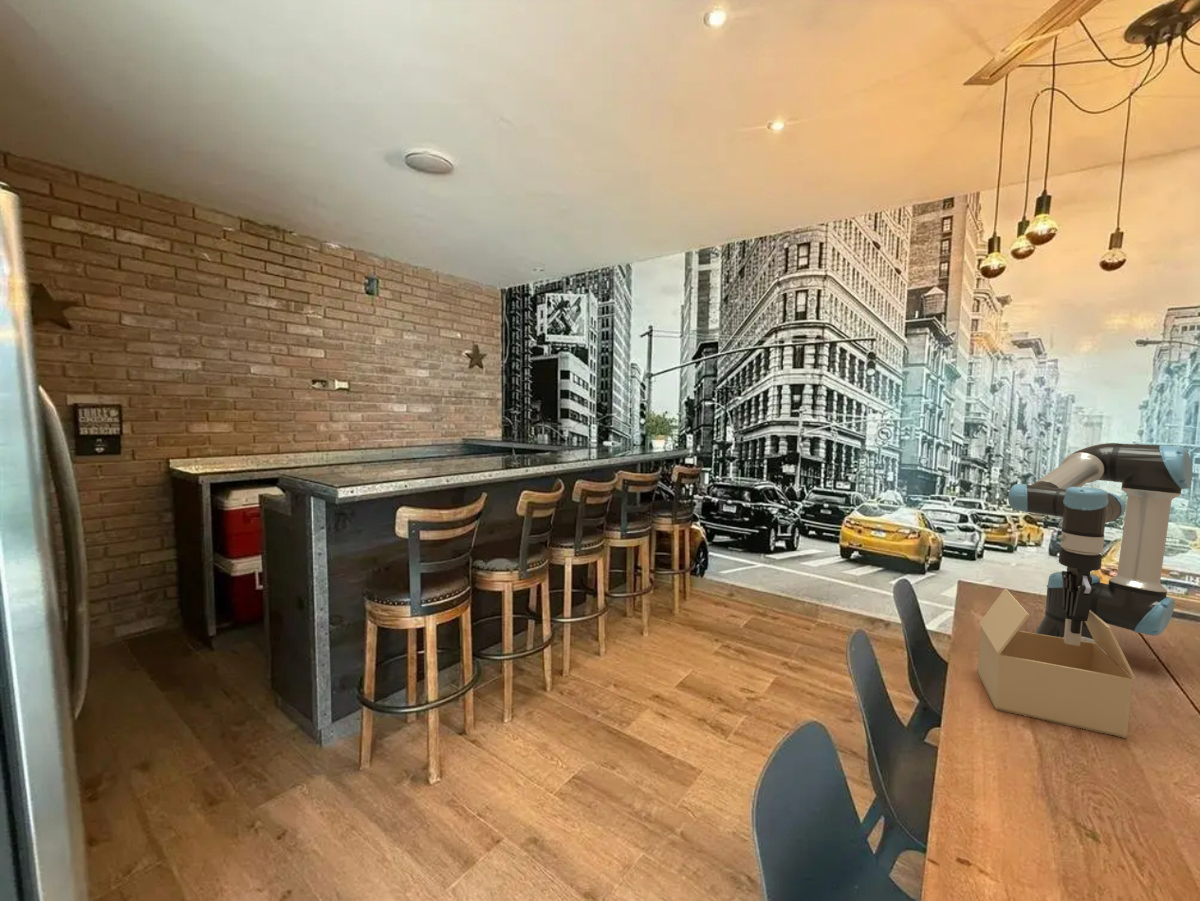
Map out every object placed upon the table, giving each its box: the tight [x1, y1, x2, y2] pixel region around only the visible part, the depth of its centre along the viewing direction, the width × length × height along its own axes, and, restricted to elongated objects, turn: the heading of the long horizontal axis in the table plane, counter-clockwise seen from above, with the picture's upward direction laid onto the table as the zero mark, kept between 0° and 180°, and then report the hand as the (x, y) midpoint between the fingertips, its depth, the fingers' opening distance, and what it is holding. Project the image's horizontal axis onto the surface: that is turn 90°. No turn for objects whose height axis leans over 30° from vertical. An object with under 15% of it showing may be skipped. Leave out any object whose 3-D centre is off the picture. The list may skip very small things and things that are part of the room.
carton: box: [976, 626, 1134, 740], centre depth 128 cm, size 24×20×14 cm
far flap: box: [979, 588, 1030, 654], centre depth 131 cm, size 12×20×1 cm
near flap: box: [1085, 610, 1136, 679], centre depth 122 cm, size 12×20×1 cm
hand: (1071, 643), depth 125 cm, fingers closed
